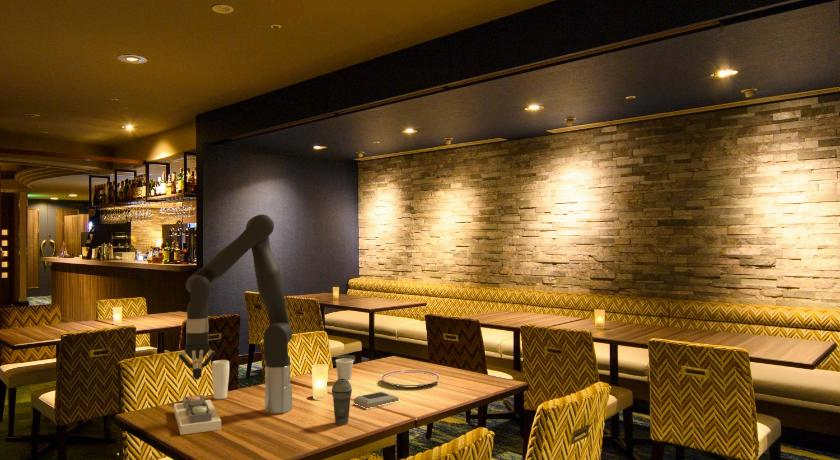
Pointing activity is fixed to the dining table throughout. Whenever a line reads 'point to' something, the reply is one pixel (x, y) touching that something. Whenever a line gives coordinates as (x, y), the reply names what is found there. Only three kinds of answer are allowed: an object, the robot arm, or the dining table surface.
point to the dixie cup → (344, 368)
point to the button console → (196, 417)
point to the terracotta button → (193, 398)
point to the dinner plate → (410, 372)
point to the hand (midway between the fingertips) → (196, 378)
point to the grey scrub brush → (374, 399)
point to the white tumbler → (220, 378)
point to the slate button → (196, 402)
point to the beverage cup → (341, 399)
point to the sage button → (199, 410)
